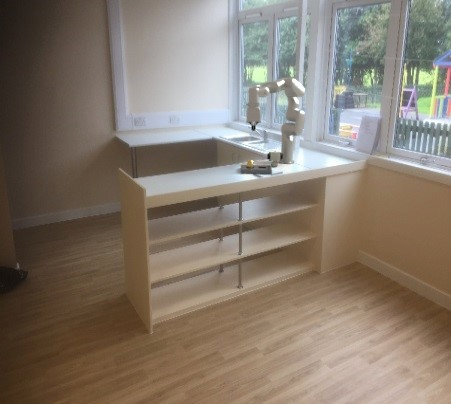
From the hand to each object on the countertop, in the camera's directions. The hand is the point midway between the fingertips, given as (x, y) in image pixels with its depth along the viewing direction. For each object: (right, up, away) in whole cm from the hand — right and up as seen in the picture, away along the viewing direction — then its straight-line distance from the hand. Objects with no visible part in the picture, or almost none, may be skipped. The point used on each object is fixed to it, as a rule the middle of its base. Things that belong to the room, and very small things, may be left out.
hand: (253, 130), depth 308 cm
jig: (+2, -29, +3) cm, 29 cm away
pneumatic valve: (+18, -24, +20) cm, 36 cm away
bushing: (-3, -29, +3) cm, 29 cm away
